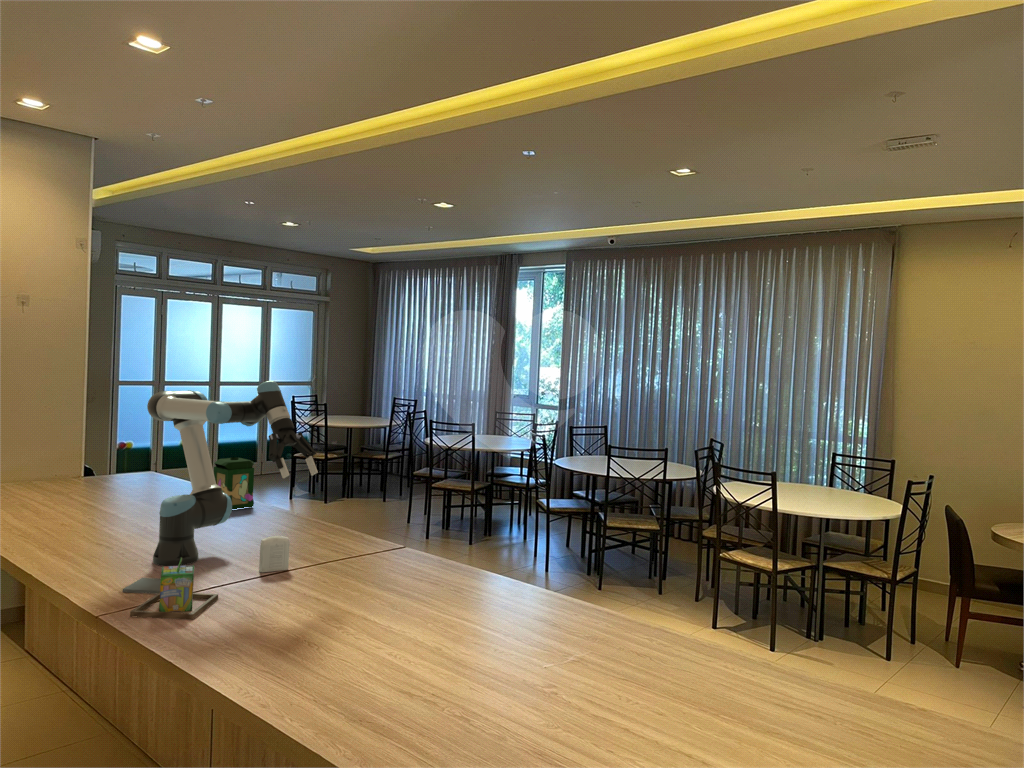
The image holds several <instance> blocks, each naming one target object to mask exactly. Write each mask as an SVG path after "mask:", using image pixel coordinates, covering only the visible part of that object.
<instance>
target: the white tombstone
mask: <svg viewBox="0 0 1024 768" xmlns="http://www.w3.org/2000/svg"><path fill="white" fill-rule="evenodd" d="M259 549H260V550H259V564H258V571H259V573H270V572H278V571H287V570H288V569H289V562H290V561H289V559H290V538H289V537H287V536H282V535H273V536H268V537H266V538H262V539H261V541H260V545H259Z"/></svg>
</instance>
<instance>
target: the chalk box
mask: <svg viewBox="0 0 1024 768" xmlns="http://www.w3.org/2000/svg"><path fill="white" fill-rule="evenodd" d="M181 563H182V557H181V559H180V562H179V565H178V566H161V573H160V579H161V581H160V599H159V607H158V612H179V613H182V612H193V611H192V610H193V602H194V599H193V593H194V581H195V580H194V578H195V565H194V564H193V565H191V564H187V565H181Z"/></svg>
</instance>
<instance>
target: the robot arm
mask: <svg viewBox="0 0 1024 768" xmlns="http://www.w3.org/2000/svg"><path fill="white" fill-rule="evenodd" d="M256 391H257V396H255V397H254V398H252V399H251V400H248V401H222V400H208V398H207V396H205V394H204V393H202V392H201V391H197V390H189V389H188V390H163V391H159V392H156V393H154V394H153V395H152V396H150V398H149V400H148V402H147V405H146V406H147V411H148V414H149V416H151V417H152V418H153V419H154V420H156V421H160V422H172V423H173V427H174V429H176V430H177V431H179V434H180V435H179V436H180V439H181V444H182V448H183V453H184V457H185V461H186V462H185V463H186V465H187V466H186V467H187V470H188V476H189V480H190V484H191V489H192V490H191V492H190V493H189V494H181V495H180V494H179V495H174V496H170V497H167V498H165V499H163V500H162V501H161V503H160V508H159V509H160V510H159V512H158V513H159V532H158V533H159V535H158V542H157V545H156V547H155V549H154V552H153V555H152V563H153V565H156V566H161V567H167V566H178V565H179V562H180V559H181V557H182V563H181V566H186V565H191V564H193V562H194V563H195V562H198V561H199V551H198V548H197V544H196V540H195V530H196V529H197V530H198V529H203V528H206V527H212V526H213V527H215V526H217V525H220V524H223V523H225V522H226V521H227V520H229V518H230V517H231V514H232V512H233V511H232V501H231V498H230V497H229V496H228V495H227V494H225V493H222V488H221V487H220V486H218V485H217V484H216V481H215V477H214V467H213V464H212V458H211V456H210V452H209V446H208V441H207V438H206V434H205V433H206V432H205V428H204V425H205V423H206V422H210V423H211V424H217V425H218V424H219V425H222V424H233V423H236V424H237V423H240V424H242V425H244V426H246V427H253V426H254V425H256V424H258V423H260V421H261V420H263V419H264V418H265V417H266V418H267V421H268V423H269V425H270V428H271V432H272V433H271V434H269V435H268V439H269V446H268V448H269V450H268V460H270V461H272V463H275V464H276V466H277V469H278V470H279V472H280V474H281V478H282V479H286V478H288V477H289V476H290V472H289V469H288V467H287V464H286V461H285V459H284V457H282V455H283V452H284V448H285V447H291V448H294V449H296V450H297V451H298V452H299V453H300V454H301V455H302V456H303V457H305V462H306V465H307V468H308V470H309V473H310V476H311V477H312V476H315V475H317V474H318V473H319V472H318V471H319V470H318V469H317V465H316V462H315V461H316V460H315V459H314V456H315V455H316V454H317V452H316V450H315V449H314V448H313V447H312V446H311V444H310V443H309V442H308V440H307V439H306V438H305V437H304V435H303V432H302V431H299V432H298V433H296V432H295V431H294V430H295V426H294V423H293V420H292V418H291V415H290V412H289V409H288V408H287V404H286V401H285V399H284V397H283V394H282V390H281V388H280V386H279V384H278V382H276V381H275V380H267V381H264V382H262V383H260V384H259V385H258V386H257V388H256ZM190 563H191V564H190ZM185 564H186V565H185Z"/></svg>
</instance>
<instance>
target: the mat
mask: <svg viewBox="0 0 1024 768" xmlns="http://www.w3.org/2000/svg"><path fill="white" fill-rule="evenodd" d="M160 581H161V577H160V578H155V577H141V578H139V579H137V580H135V581H134V582H133V583H130V584H129V585H127V586H125V587H124V588H122V593H128V594H129V593H134V594H149V595H150V594H152V595H153V594H154V595H156V594H158V593H159V592H160Z"/></svg>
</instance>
